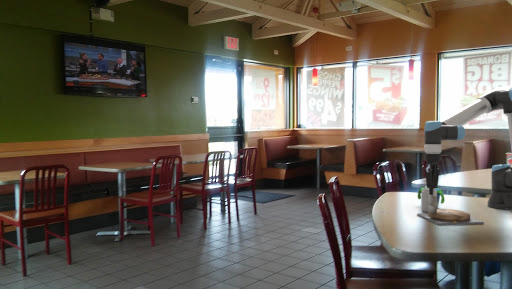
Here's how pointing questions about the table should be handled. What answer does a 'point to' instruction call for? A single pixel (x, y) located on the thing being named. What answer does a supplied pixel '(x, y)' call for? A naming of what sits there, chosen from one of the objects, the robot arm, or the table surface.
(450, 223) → the dial base
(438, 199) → the snack cup
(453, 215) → the dial
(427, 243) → the table surface
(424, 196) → the can
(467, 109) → the robot arm
